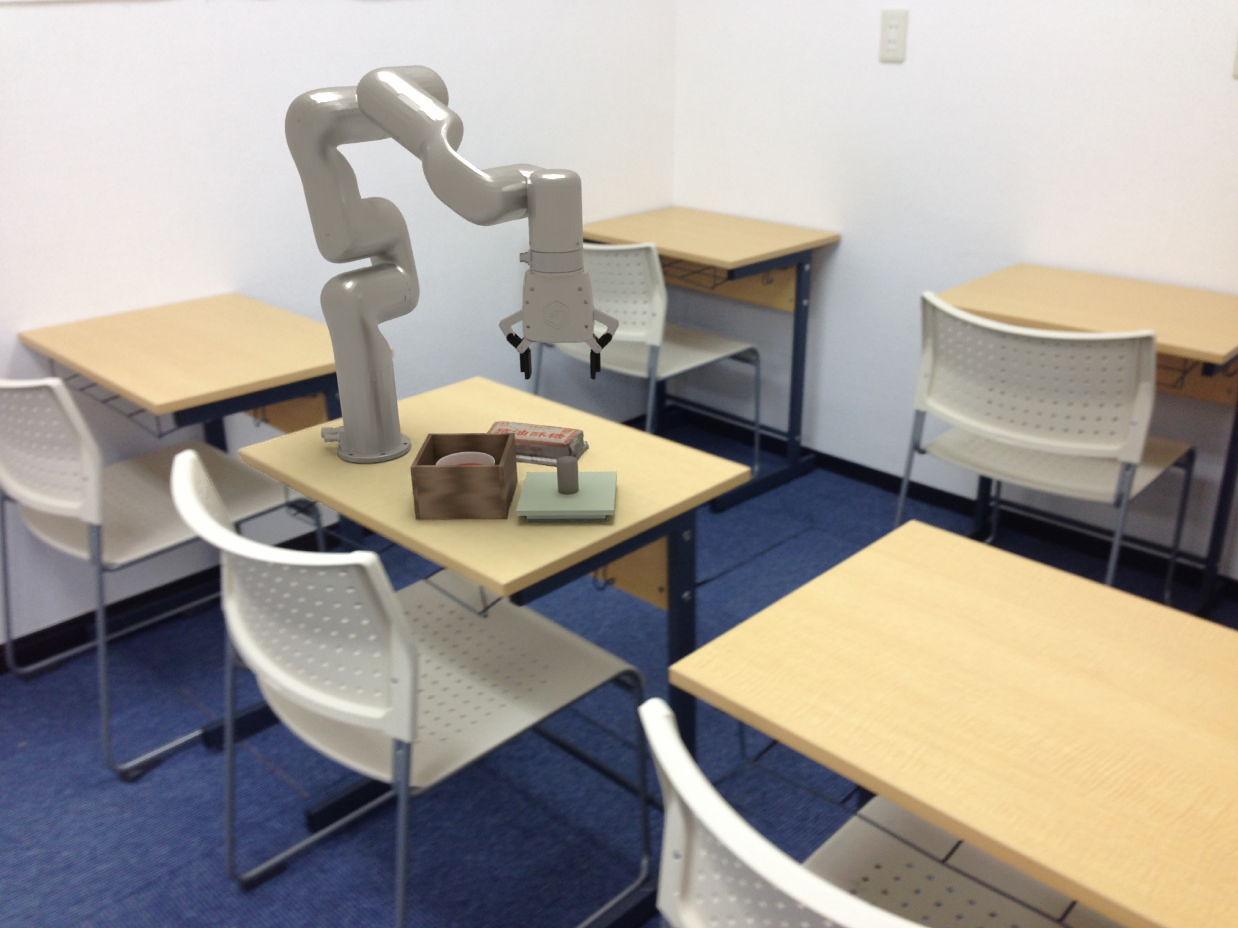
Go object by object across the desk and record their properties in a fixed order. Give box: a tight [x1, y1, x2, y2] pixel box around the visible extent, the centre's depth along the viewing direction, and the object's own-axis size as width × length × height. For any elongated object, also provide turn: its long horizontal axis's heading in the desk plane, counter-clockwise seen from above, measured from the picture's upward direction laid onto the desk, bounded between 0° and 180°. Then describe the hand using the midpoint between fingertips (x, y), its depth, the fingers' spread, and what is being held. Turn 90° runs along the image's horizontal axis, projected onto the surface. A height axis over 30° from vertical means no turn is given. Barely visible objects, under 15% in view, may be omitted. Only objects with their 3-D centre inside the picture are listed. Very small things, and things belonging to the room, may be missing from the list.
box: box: [409, 432, 519, 520], centre depth 161 cm, size 14×14×8 cm
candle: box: [436, 452, 495, 465], centre depth 162 cm, size 9×9×6 cm
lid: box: [515, 456, 618, 520], centre depth 159 cm, size 14×14×7 cm
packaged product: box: [486, 420, 590, 467], centre depth 180 cm, size 18×5×10 cm
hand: (560, 376), depth 153 cm, fingers open, 9 cm apart
